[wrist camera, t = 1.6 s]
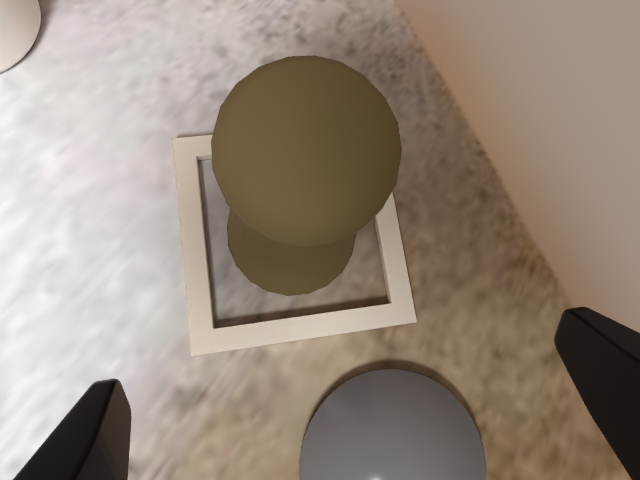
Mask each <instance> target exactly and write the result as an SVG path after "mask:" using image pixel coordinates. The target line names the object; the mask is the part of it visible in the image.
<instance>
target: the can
mask: <svg viewBox="0 0 640 480" xmlns="http://www.w3.org/2000/svg"><path fill="white" fill-rule="evenodd" d="M40 23H41V12H40V6H39V3H38V0H0V73H2V72H4V71H6V70H8V69H9V68H11V67H13V66H14V65H15V64H17V63H18V62H19V61H20V60H21V59H22V58H23V57H24V56H25V55H26V54H27V53H28V51H29V50H30V48H31V47H32V45H33V43H34V42H35V40H36V37H37V35H38V32H39V28H40Z"/></svg>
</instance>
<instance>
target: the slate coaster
mask: <svg viewBox="0 0 640 480" xmlns="http://www.w3.org/2000/svg"><path fill="white" fill-rule="evenodd" d="M300 480H486V462H485V455H484V449H483V445H482V442H481V438H480V435H479V432H478V430H477V428H476V426H475V424H474V421H473V420H472V418H471V416H470V415H469V413H468V411H467V410H466V409H465V407H464V406H463V405H462V404H461V402H460V401H459V400H458V399H457V398H456V397H455V396H454V395H453V394H452V393H451V392H450V391H449V390H447V389H446V388H445V387H443V386H442V385H441V384H439V383H437V382H436V381H434V380H432V379H431V378H428V377H426V376H423V375H421V374H418V373H414V372H411V371H406V370H399V369H379V370H373V371H369V372H365V373H362V374H359V375H357V376H355V377H353V378H351V379H349V380H347V381H345V382H344V383H342V384H341V385H339V386H338V387H337V388H336V389H334V390H333V391H332V392H331V393H330V394H329V395H328V396H327V397H326V398H325V399H324V400H323V402H322V403H321V404H320V406H319V407H318V408H317V410H316V411H315V413H314V415H313V417H312V419H311V420H310V422H309V424H308V427H307V430H306V432H305V435H304V439H303V443H302V447H301V453H300Z"/></svg>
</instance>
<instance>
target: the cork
mask: <svg viewBox="0 0 640 480" xmlns="http://www.w3.org/2000/svg"><path fill="white" fill-rule="evenodd" d="M401 150H402V148H401V142H400V135H399V129H398V123H397V120H396V118H395V116H394V114H393V112H392V110H391V108H390V107H389V105H388V103H387V101H386V99H385V97H384V96H383V95H382V94H381V93H380V92H379V91H378V90H377V89H376V88H375V87H374V86H373V85H372V84H371V83H370V82H369V81H368V80H367V79H366V78H365V77H364V75H362V74H361V73H359V72H357V71H355V70H354V69H352V68H350V67H348V66H347V65H345V64H343V63H341V62H339V61H335V60H330V59H326V58H322V57H318V56H293V57H286V58H283V59H280V60H277V61H274V62H272V63H269V64H266V65H263V66H261V67H258V68H257V69H256V70H254V71H253V72H252V73H250V74H249V75H248V76H246V77H245V78H243V79H242V80H241V81H239V82H238V83H237V84H236V85H235V87H234V88H233V89H232V91H231V92H230V94H229V95H228V96H227V98H226V99H225V101H224V102H223V104H222V105H221V107H220V110H219V114H218V117H217V121H216V124H215V128H214V132H213V135H212V139H211V151H212V166H213V172H214V174H215V177H216V179H217V182H218V184H219V186H220V189H221V191H222V193H223V196H224V198H225V200H226V203H227V204H228V205H229V206H230V213H229V219H228V225H227V232H228V246H229V249H230V251H231V254H232V256H233V259H234V261H235V263H236V266H237V267H238V268H239V269H240V270H241V271H242V272H243V273H244V275H245V276H246V277H247V278H248V279H249V280H250V281H251V282H253V283H255V284H256V285H258V286H260V287H261V288H263V289H265V290H267V291H269V292H273V293H278V294H283V295H287V296H290V295H300V294H309V293H311V292H313V291H316V290H318V289H320V288H322V287H325V286H327V285H328V284H329V283H330V282H332V281H333V280H334V279H335V278H336V277H337V276H338V275H339V274H340V273H341V272H342V271H343V269H344V268H345V266H346V264H347V262H348V261H349V259H350V257H351V255H352V251H353V246H354V242H355V237H356V233H357V232H358V231H359V230H360V229H361V228H363V227H364V226H365V225H366V224H367V223H368V222H369V221H370V220H371V219H373V218H374V217H375V216H376V215H377V214H378V213H379V212H380V211H381V210H382V209H383V207H384V205H385V203H386V201H387V200H388V198H389V196H390V194H391V192H392V191H393V189H394V187H395V185H396V182H397V176H398V171H399V165H400V159H401Z"/></svg>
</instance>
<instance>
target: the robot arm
mask: <svg viewBox="0 0 640 480" xmlns="http://www.w3.org/2000/svg"><path fill="white" fill-rule="evenodd" d="M554 341H555V346H556V349H557V351H558V353H559V355H560V357H561V359H562V361H563V363H564V365H565V367H566V369H567V371H568V372H569V374H570V376H571V378H572V380H573V382H574V384H575V386H576V388H577V390H578V392H579V394H580V396H581V398H582V400H583V402H584V404H585V405H586V407H587V409H588V411H589V413H590V414H591V416H592V418H593V419H594V421H595V423H596V424H597V426H598V427H599V429H600V431H601V432H602V434H603V435H604V437H605V438H606V440H607V441H608V443H609V445H610V446H611V448H612V449H613V451H614V452H615V454H616V455H617V457H618V459H619V460H620V462H621V463H622V465H623V466H624V468H625V469H626V471H627V473H628V474H629V476H630V477H631V479H632V480H640V333H638V332H636V331H634V330H632V329H630V328H628V327H626V326H624V325H622V324H620V323H618V322H616V321H614V320H612V319H610V318H607V317H605V316H603V315H601V314H599V313H597V312H595V311H593V310H591V309H589V308H586V307H578V308H571V309H567V310H565V311H564V312H563V314H562V316H561V319H560V322H559V325H558V328H557V331H556V334H555V339H554ZM130 432H131V408H130V405H129V402H128V400H127V397H126V395H125V392H124V390H123V387H122V385H121V383H120V381H119V380H118V379H109V380H102V381H97V382H95V383H93V384H92V385H91V386H90V387H89V389H88V390H87V391H86V392H85V393H84V395H83V396H82V397H81V398H80V399H79V401H78V402H77V403H76V404H75V405H74V407H73V408H72V409H71V410H70V412H69V413H68V414H67V415H66V416H65V418H64V419H63V420H62V421H61V422H60V424H59V425H58V426H57V427H56V428H55V430H54V431H53V432H52V433H51V434H50V436H49V437H48V438H47V439H46V440H45V442H44V443H43V444H42V445H41V446H40V448H39V449H38V450H37V451H36V453H35V454H34V455H33V456H32V457H31V459H30V460H29V461H28V462H27V463H26V465H25V466H24V467H23V468H22V469H21V471H20V472H19V473H18V474H17V475H16V477H15V478H14V479H13V480H127V479H128V463H129V448H130Z"/></svg>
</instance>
